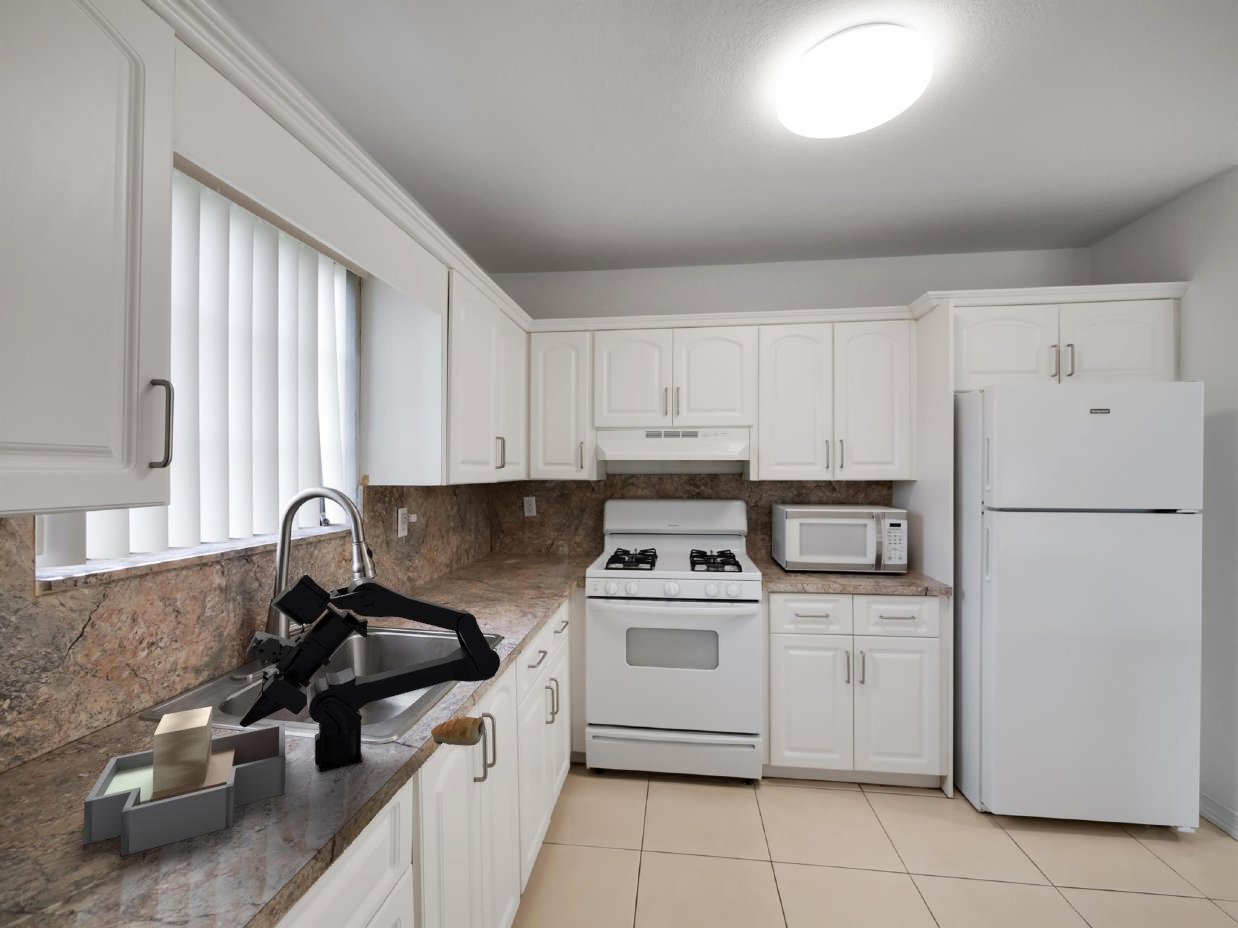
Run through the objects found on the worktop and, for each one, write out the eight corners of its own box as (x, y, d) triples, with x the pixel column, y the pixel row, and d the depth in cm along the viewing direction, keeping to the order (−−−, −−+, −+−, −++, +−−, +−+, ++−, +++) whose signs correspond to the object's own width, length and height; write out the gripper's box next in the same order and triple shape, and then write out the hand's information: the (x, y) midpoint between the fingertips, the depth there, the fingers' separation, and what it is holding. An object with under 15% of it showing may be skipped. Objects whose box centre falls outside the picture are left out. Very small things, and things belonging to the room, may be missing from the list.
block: (211, 757, 88) (212, 706, 88) (205, 780, 81) (206, 725, 82) (162, 767, 85) (163, 714, 85) (152, 792, 78) (153, 734, 78)
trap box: (284, 755, 96) (284, 723, 96) (285, 812, 79) (285, 772, 79) (110, 794, 84) (111, 757, 84) (69, 870, 68) (70, 824, 68)
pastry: (425, 747, 99) (425, 725, 99) (438, 730, 106) (439, 710, 106) (477, 747, 99) (478, 725, 99) (487, 730, 106) (487, 710, 106)
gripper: (281, 602, 98) (203, 677, 92) (281, 625, 82) (187, 719, 76) (331, 639, 102) (260, 714, 96) (340, 669, 86) (256, 760, 80)
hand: (241, 725), depth 87 cm, fingers closed
